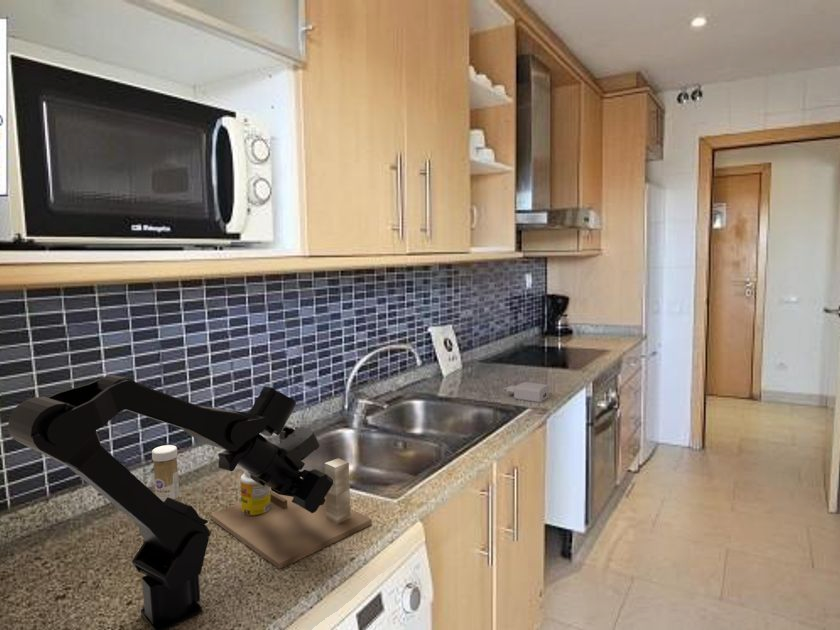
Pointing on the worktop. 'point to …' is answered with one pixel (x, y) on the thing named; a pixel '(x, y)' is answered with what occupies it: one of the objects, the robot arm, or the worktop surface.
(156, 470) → the sprinkles bottle
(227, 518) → the square wooden board
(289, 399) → the robot arm
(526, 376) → the worktop surface
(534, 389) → the charger
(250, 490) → the supplement bottle
